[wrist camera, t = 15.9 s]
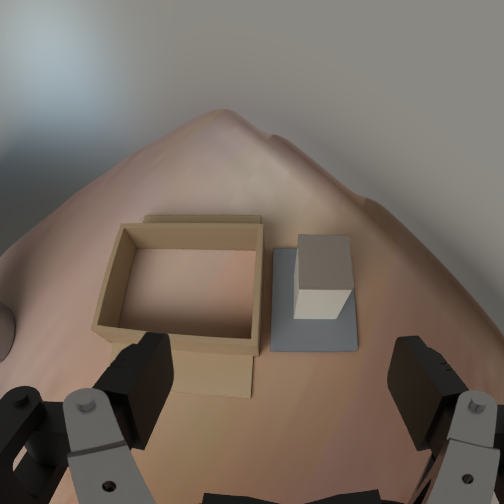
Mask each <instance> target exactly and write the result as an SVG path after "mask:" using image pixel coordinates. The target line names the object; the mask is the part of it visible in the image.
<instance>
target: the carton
mask: <svg viewBox="0 0 504 504" xmlns="http://www.w3.org/2000/svg"><path fill="white" fill-rule="evenodd" d="M260 223H261V216H255V215H160V216H145V217H144V221H143V223H128V224H121V225H120V228H119V231H118V234H117V237H116V240H115V243H114V246H113V250H112V253H111V256H110V260H109V263H108V266H107V270H106V273H105V277H104V280H103V284H102V288H101V292H100V295H99V299H98V303H97V307H96V311H95V316H94V320H93V324H92V329H91V330H92V331H94V332H95V333H97V334H98V335H100V336H101V337H103V338H104V339H106V340H107V341H109V342H110V343H113V348H112V353H111V359H110V364H111V363H112V362H113V360H115V358H116V356H117V355H118V354H119V353H120V351H121V350H122V349H124V348H126V347H127V346H129V345H131V344H132V343H133V344H138V342H139V341H140V340H141V338H142V337H143V336H144V334H145V333H146V332H148V331H139V330H131V329H123V328H118V324H119V319H120V314H121V309H122V305H123V301H124V296H125V292H126V288H127V284H128V280H129V276H130V272H131V268H132V264H133V260H134V256H135V253H136V249H137V248H152V249H203V250H253V251H256V264H255V281H254V298H253V314H252V331H251V339H239V338H221V337H205V336H192V335H179V334H168V333H167V334H168V335H169V338H170V344H171V352H172V360H173V367H174V381H173V385H172V388H171V390H170V391H175V392H183V393H191V394H200V395H210V396H222V397H235V398H251V384H252V367H253V356H254V357H259V348H260V329H261V308H262V287H263V265H264V225H263V224H260ZM157 333H158V332H157ZM110 364H109V367H110Z"/></svg>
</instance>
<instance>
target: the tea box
mask: <svg viewBox="0 0 504 504" xmlns="http://www.w3.org/2000/svg"><path fill="white" fill-rule="evenodd" d="M353 289H354V278H353V268H352V259H351V251H350V243H349V236H343V235H305V234H298V247H297V255H296V263H295V270H294V319H336V318H337V317H338V315H339V313H340V311H341V309H342V308H343V306H344V304H345V302H346V300H347V298H348V296H349V295H350V293H351V291H352V290H353Z"/></svg>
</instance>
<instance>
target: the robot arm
mask: <svg viewBox="0 0 504 504" xmlns="http://www.w3.org/2000/svg"><path fill="white" fill-rule="evenodd" d="M14 334H15V323H14V318H13V315H12V313H11V311H10V310H9V309H8V308H7V307H6V306H4V305H3V304H2V303H0V362H1V361H2V360H3V359H4V358H5V357H6V356H7V354H8V353H9V351H10V348H11V346H12V343H13V340H14ZM173 381H174V367H173V360H172V352H171V344H170V338H169V335H168V334H167V333H157V332H146V333H145V334H144V336H143V337H142V338H141V340H140V341H139V342H138V344H133V343H132V344H131V345H129V346H127V347H126V348H124V349H122V350H121V351H120V353H119V354H118V355H117V356H116V358H115V360H113V362H112V363H111V364H110V367H108V368H107V369H106V371H105V372H104V373H103V374H102V376H101V377H100V378H99V380H98V381H97V382H96V383H95V385H94V386H93V387H92V388H84V389H79V390H76V391H74V392H72V393H71V394H69V395H68V396H67V397H66V398H65V400H64V402H47V401H43V400H42V398H41V396H40V393H39V392H38V390H37V389H35V388H33V387H30V386H20V387H16V388H13V389H11V390H10V391H8V392H7V393H6V394H5V395H4V396H3V397H2V398H1V399H0V504H49V502H50V500H51V498H52V496H53V494H54V492H55V490H56V488H57V486H58V484H59V482H60V481H61V479H62V477H63V475H64V473H65V471H66V469H67V467H69V468H70V472H71V476H72V480H73V484H74V487H75V491H76V495H77V498H78V501H79V504H156V502H155V500H154V499H153V497H152V495H151V493H150V491H149V489H148V487H147V485H146V483H145V481H144V479H143V477H142V475H141V473H140V471H139V469H138V467H137V465H136V463H135V461H134V459H133V456H132V454H131V452H130V451H131V449H132V448H136V449H140V450H144V449H145V447H146V445H147V442H148V440H149V438H150V436H151V433H152V431H153V429H154V426H155V424H156V422H157V420H158V417H159V415H160V413H161V411H162V408H163V406H164V404H165V402H166V399H167V397H168V395H169V393H170V390H171V388H172V385H173ZM387 383H388V388H389V391H390V393H391V395H392V397H393V399H394V401H395V403H396V405H397V408H398V410H399V412H400V414H401V416H402V418H403V420H404V423H405V425H406V427H407V429H408V431H409V434H410V436H411V438H412V440H413V443H414V445H415V447H416V449H417V451H422V450H426V449H431V451H432V453H431V455H430V457H429V459H428V461H427V463H426V466H425V468H424V471H423V473H422V475H421V477H420V480H419V482H418V484H417V486H416V488H415V490H414V492H413V494H412V497H411V498H410V500H409V502H408V504H491V500H492V496H493V491H494V492H495V494H496V497H497V499H498V501H499V504H504V405H497V403H496V401H495V400H494V399H493V398H492V397H491V396H490V395H489V394H487V393H485V392H482V391H478V390H469V389H468V388H467V386H466V385H465V384H464V383H463V381H462V380H461V379H460V377H459V376H458V375H457V374H456V372H455V371H454V370H452V367H451V366H450V365H449V364H447V361H446V360H445V359H444V358H443V356H442V355H441V354H440V353H438V352H436V351H435V350H433V349H432V348H428V347H427V346H426V344H425V343H424V342H423V341H422V339H421V338H420V337H419V336H405V337H398V338H397V340H396V342H395V346H394V350H393V355H392V359H391V363H390V367H389V371H388V376H387ZM23 446H25V448H26V449H27V452H26V453H25V455H24V456H23V458H22V459H21V461H20V463H19V464H18V466H17V467H16V469H15V470H14V472H13V462H14V459H15V458H16V456H17V455H18V453H19V452H20V451H21V449H22V448H23ZM201 504H279V503H274V502H269V501H264V500H260V499H256V498H251V497H246V496H231V495H220V494H210V493H204V496H203V501H202V503H201ZM306 504H404V503H400V502H395V501H389V500H381V498H380V495H379V491H378V489H377V490H370V491H364V492H356V493H348V494H339V495H335V496H332V497H328V498H325V499H321V500H317V501H314V502H310V503H306Z"/></svg>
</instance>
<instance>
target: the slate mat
mask: <svg viewBox="0 0 504 504" xmlns="http://www.w3.org/2000/svg"><path fill="white" fill-rule="evenodd" d="M296 255H297V249H288V248H274V249H273V285H272V315H271V342H270V351H273V352H347V351H357V350H358V344H357V327H356V312H355V300H354V289H353V290H352V291H351V293H350V295H349V296H348V298H347V300H346V302H345V304H344V306H343V308H342V309H341V311H340V313H339V315H338V317H337V318H336V319H294V270H295V263H296Z"/></svg>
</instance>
